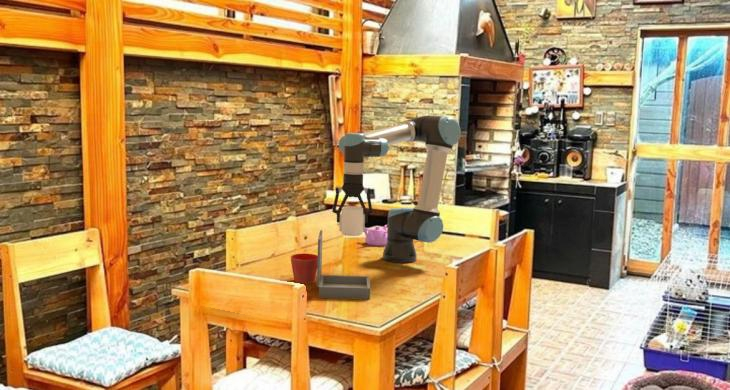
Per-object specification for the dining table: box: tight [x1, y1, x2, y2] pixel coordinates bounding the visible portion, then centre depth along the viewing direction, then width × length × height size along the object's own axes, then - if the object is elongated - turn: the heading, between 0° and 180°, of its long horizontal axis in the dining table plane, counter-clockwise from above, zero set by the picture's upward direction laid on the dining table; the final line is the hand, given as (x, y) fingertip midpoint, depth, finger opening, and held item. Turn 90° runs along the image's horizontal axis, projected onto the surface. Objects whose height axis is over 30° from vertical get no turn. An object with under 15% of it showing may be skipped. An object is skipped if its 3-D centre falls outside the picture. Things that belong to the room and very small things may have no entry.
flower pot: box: [290, 252, 318, 284], centre depth 269 cm, size 11×11×10 cm
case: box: [316, 229, 371, 300], centre depth 256 cm, size 19×19×21 cm
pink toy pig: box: [363, 224, 388, 247], centre depth 344 cm, size 12×14×9 cm
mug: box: [340, 205, 364, 237], centre depth 274 cm, size 12×8×10 cm
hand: (351, 230), depth 274 cm, fingers closed on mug, 8 cm apart
